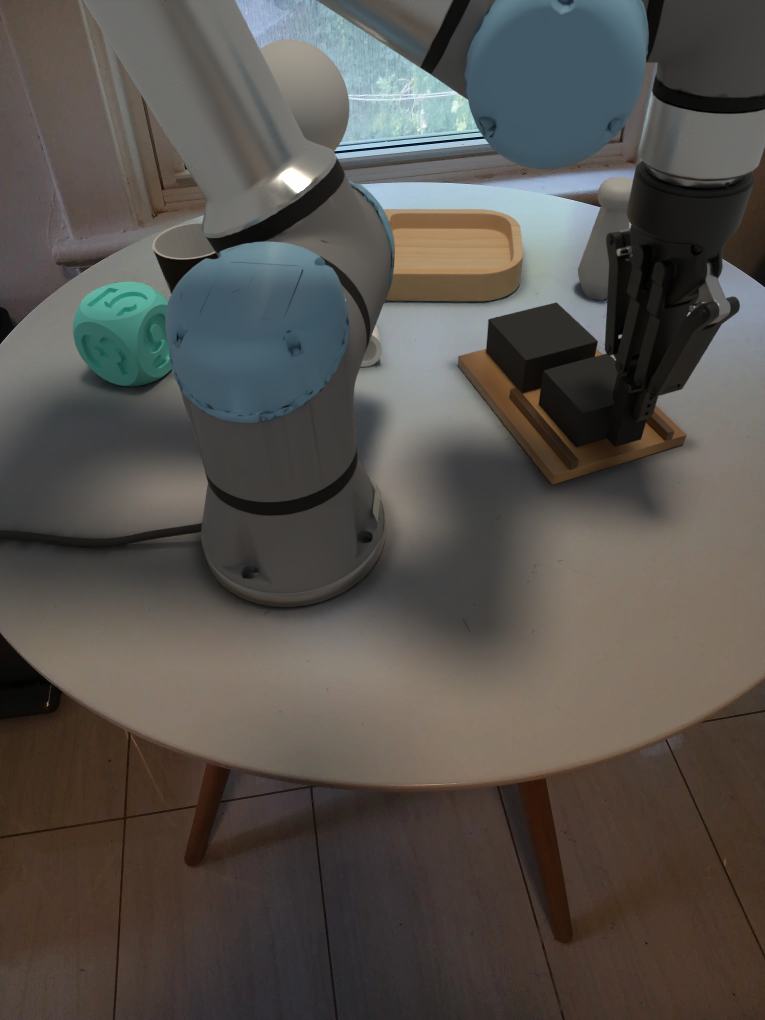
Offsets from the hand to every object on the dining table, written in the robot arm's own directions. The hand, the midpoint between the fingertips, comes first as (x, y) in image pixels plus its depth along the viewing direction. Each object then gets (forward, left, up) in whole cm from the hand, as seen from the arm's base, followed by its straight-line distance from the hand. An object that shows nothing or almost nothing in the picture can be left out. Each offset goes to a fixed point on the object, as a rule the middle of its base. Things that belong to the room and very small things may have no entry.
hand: (623, 438), depth 65 cm
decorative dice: (-39, +34, -3) cm, 52 cm away
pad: (0, +15, -2) cm, 15 cm away
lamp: (-6, +43, -3) cm, 43 cm away
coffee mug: (-29, +41, -3) cm, 50 cm away
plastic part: (-18, +28, -3) cm, 33 cm away
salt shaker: (+15, +27, -3) cm, 31 cm away
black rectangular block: (0, +6, -2) cm, 6 cm away
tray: (0, +10, -3) cm, 10 cm away
